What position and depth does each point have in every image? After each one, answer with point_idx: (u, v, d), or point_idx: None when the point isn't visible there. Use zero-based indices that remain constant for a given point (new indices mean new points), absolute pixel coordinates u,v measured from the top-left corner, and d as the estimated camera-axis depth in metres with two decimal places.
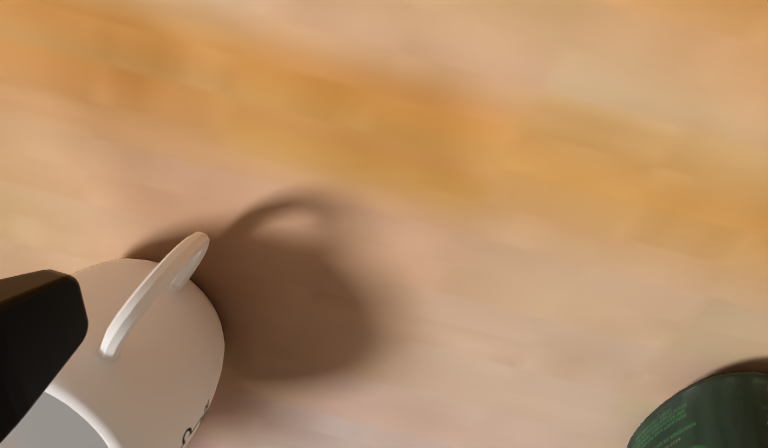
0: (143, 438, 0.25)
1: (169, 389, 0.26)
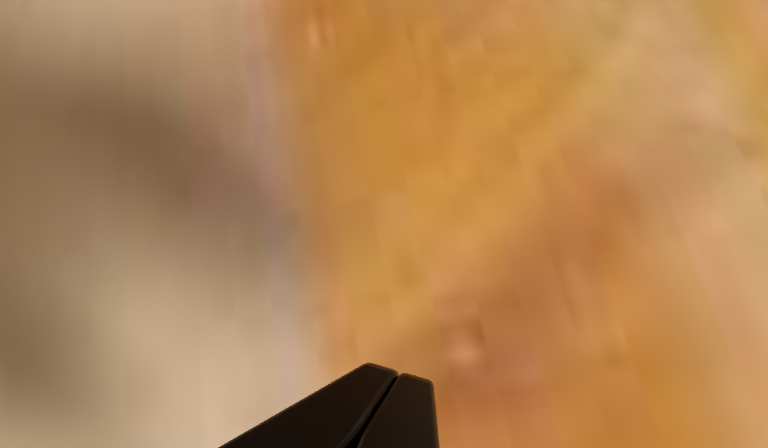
0: None
1: None
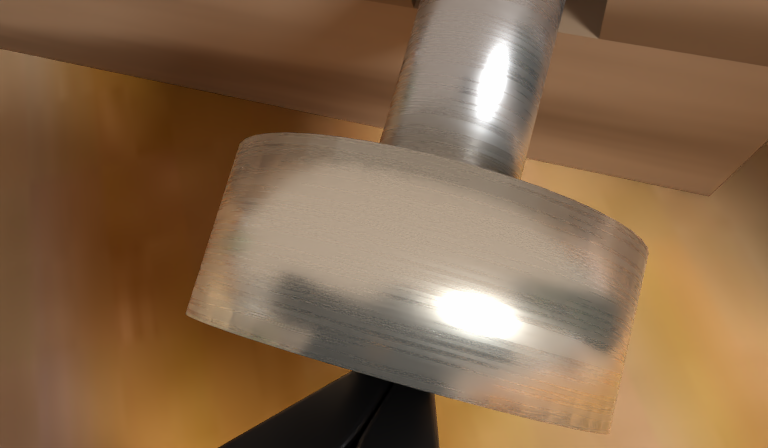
0: None
1: None
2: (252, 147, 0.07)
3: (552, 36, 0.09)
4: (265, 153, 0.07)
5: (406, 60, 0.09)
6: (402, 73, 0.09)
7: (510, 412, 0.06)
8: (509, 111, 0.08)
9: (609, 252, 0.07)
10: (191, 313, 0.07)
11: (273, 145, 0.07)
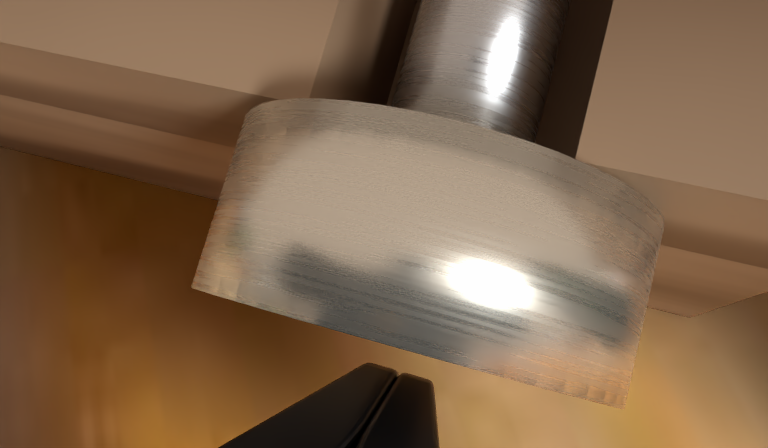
0: None
1: None
2: (259, 115, 0.07)
3: (564, 6, 0.09)
4: (272, 120, 0.07)
5: (415, 31, 0.09)
6: (411, 44, 0.09)
7: (525, 382, 0.06)
8: (521, 81, 0.08)
9: (626, 220, 0.07)
10: (196, 285, 0.07)
11: (281, 111, 0.07)
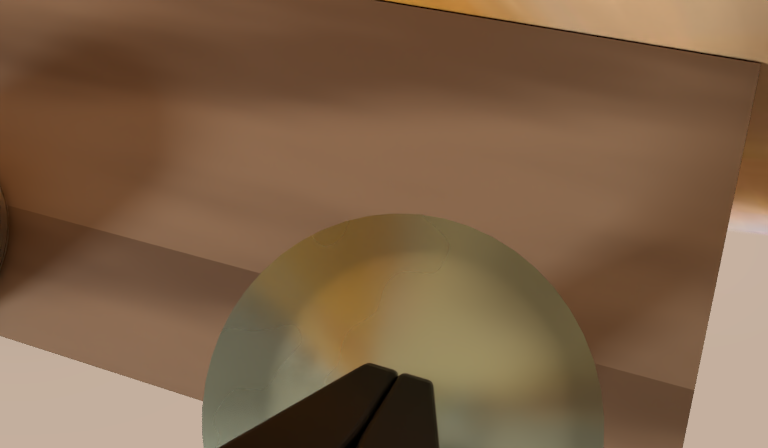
0: None
1: None
2: None
3: None
4: None
5: None
6: None
7: None
8: None
9: None
10: None
11: None
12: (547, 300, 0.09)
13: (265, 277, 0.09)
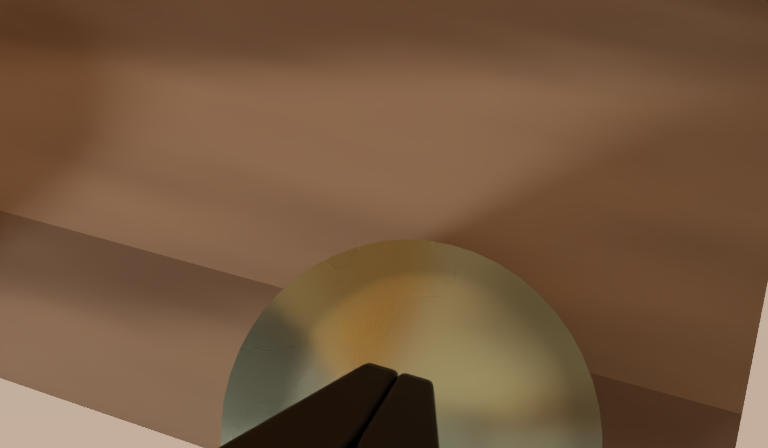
0: None
1: None
2: None
3: None
4: None
5: None
6: None
7: None
8: None
9: None
10: None
11: None
12: (549, 324, 0.09)
13: (281, 299, 0.10)
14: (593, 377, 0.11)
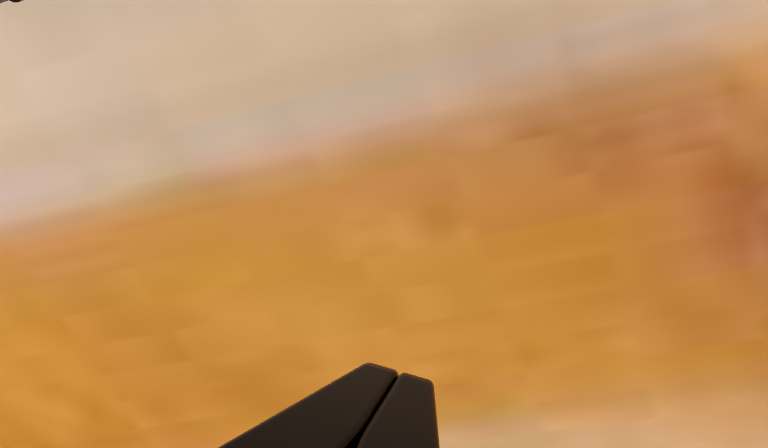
0: None
1: None
2: None
3: None
4: None
5: None
6: None
7: None
8: None
9: None
10: None
11: None
12: None
13: None
14: None
